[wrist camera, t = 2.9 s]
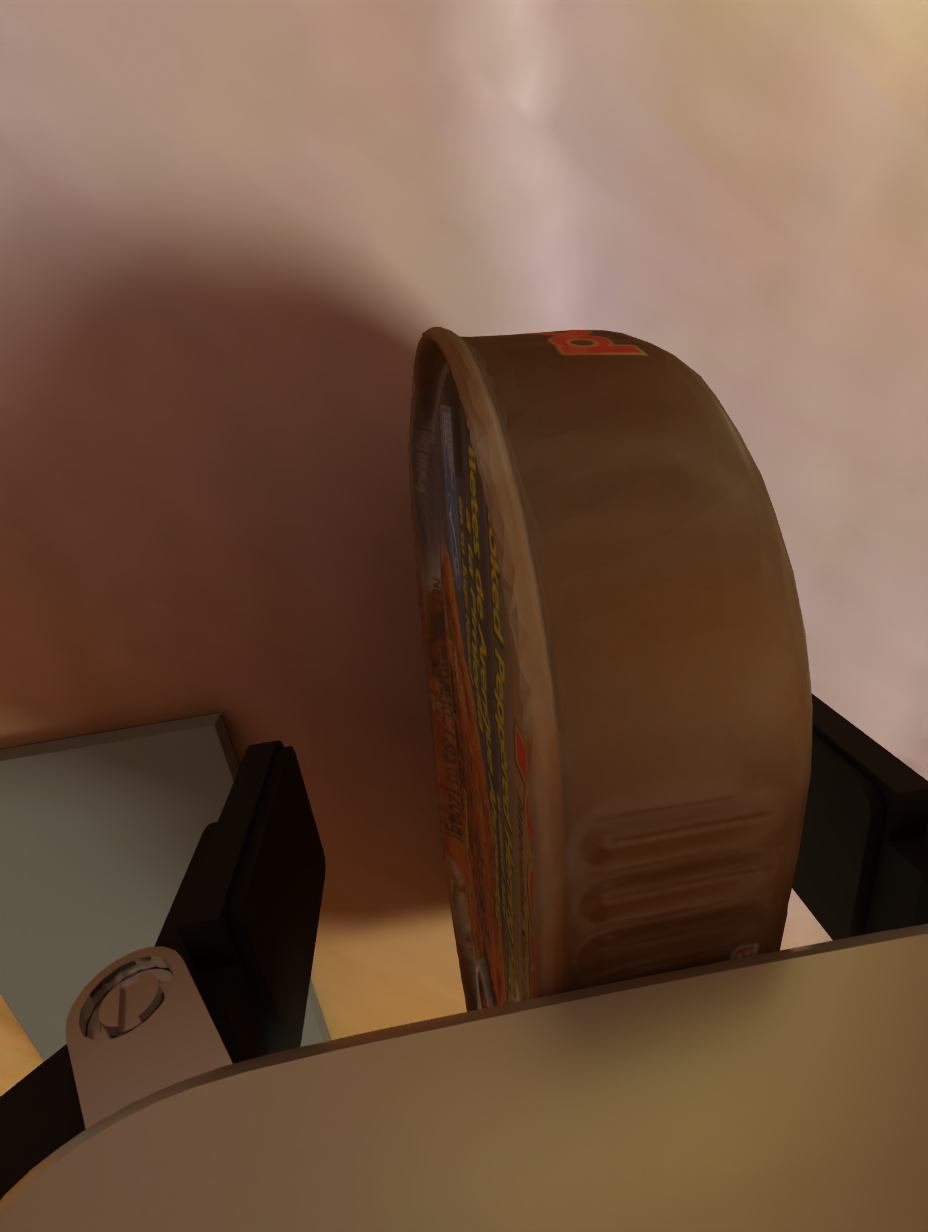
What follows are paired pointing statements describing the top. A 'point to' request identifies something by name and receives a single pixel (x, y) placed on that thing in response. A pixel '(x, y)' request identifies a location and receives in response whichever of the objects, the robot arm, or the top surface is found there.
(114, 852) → the mat
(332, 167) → the top surface
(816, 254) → the top surface
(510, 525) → the tin
